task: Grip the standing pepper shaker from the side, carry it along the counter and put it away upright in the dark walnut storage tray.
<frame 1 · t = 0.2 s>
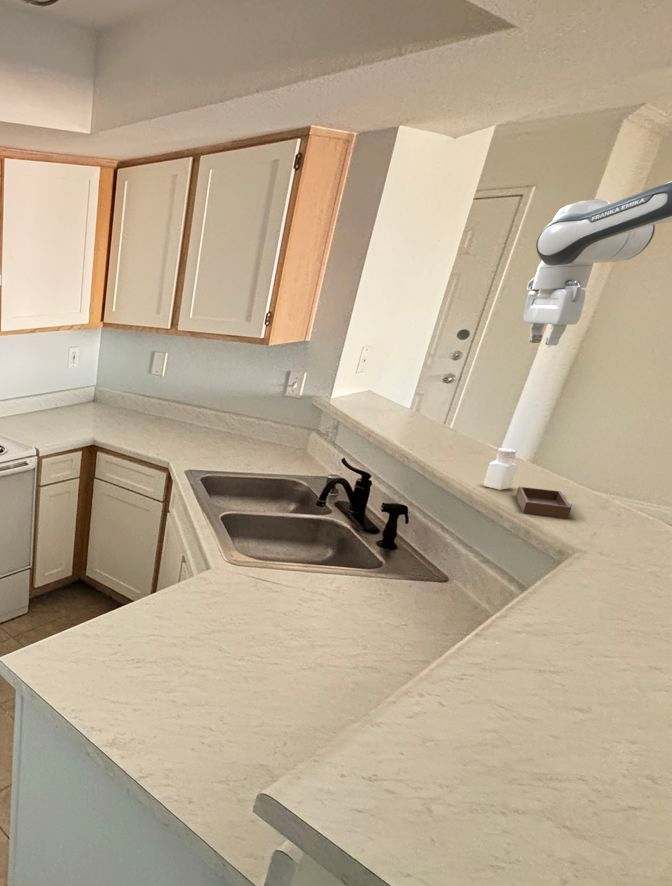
hand: (542, 344, 137), 34 cm above the counter, tool pointing down, fingers open, 8 cm apart
tray: (540, 507, 130), on the counter
pepper shaker: (496, 488, 144), on the counter
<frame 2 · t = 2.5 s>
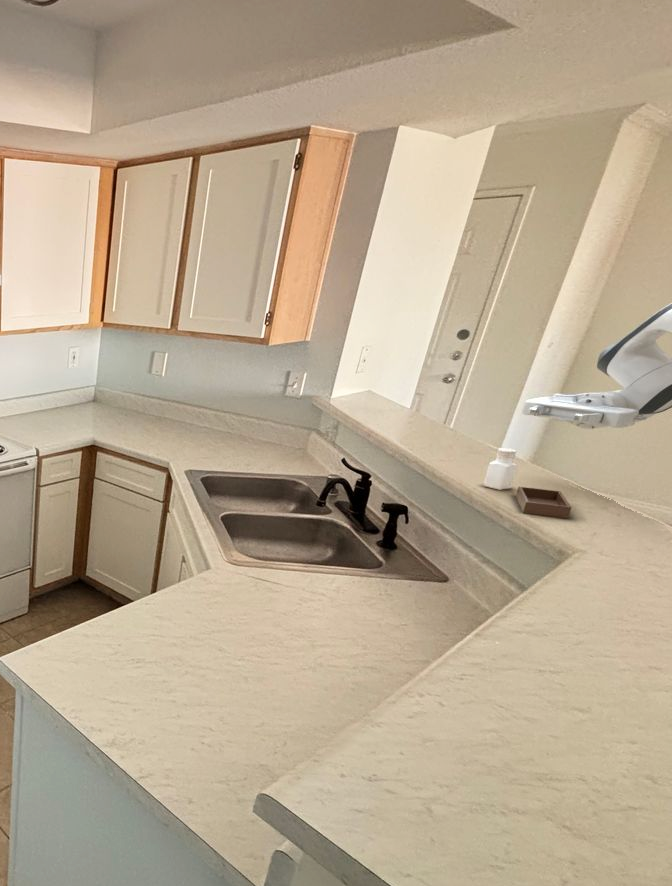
hand: (553, 415, 141), 17 cm above the counter, tool horizontal, fingers open, 8 cm apart
nothing on the counter moved.
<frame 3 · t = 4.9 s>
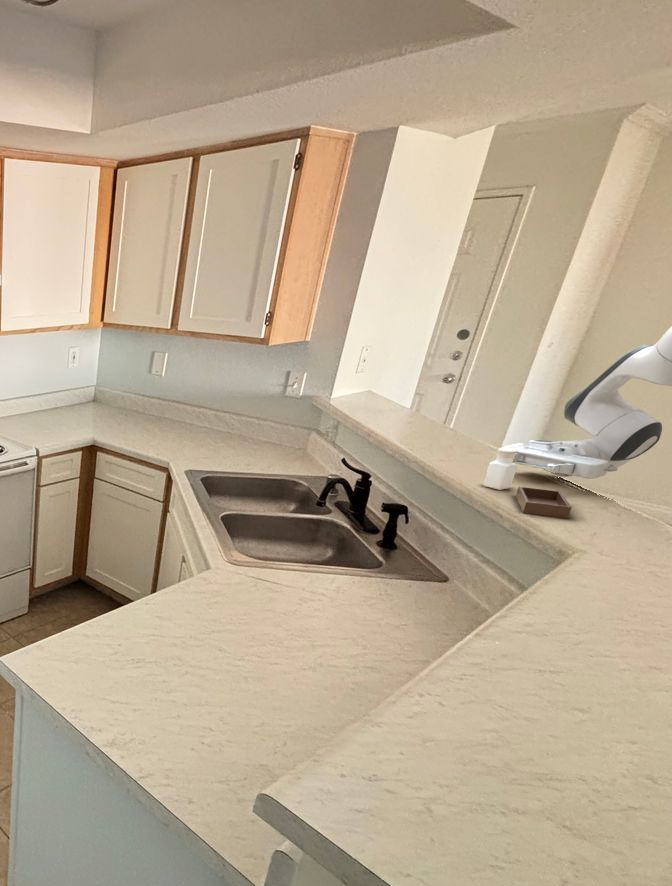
hand: (527, 463, 143), 5 cm above the counter, tool horizontal, fingers open, 8 cm apart
nothing on the counter moved.
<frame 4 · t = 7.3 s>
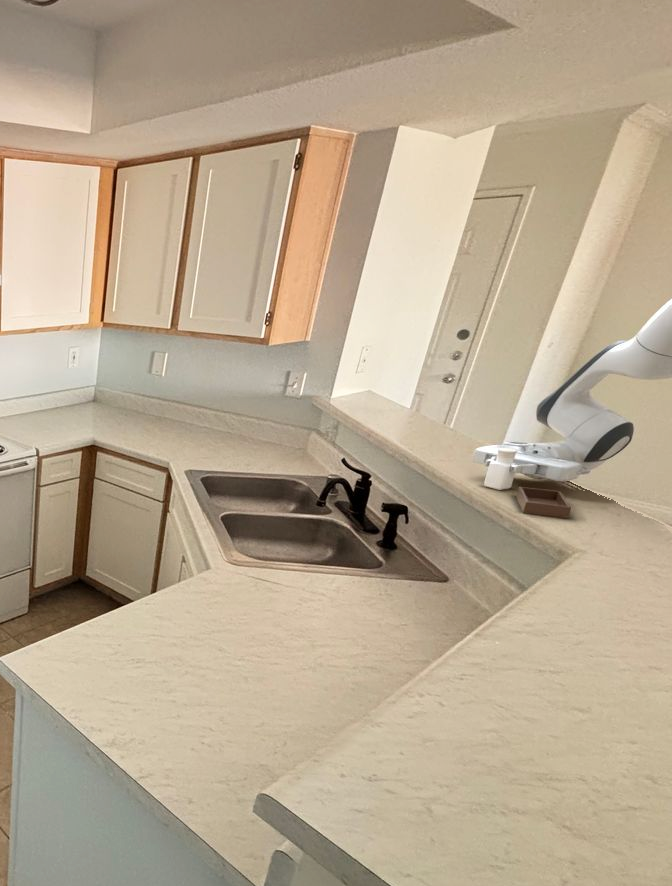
hand: (500, 466, 142), 6 cm above the counter, tool horizontal, fingers closed on pepper shaker, 4 cm apart
pepper shaker: (496, 488, 144), on the counter, touching gripper
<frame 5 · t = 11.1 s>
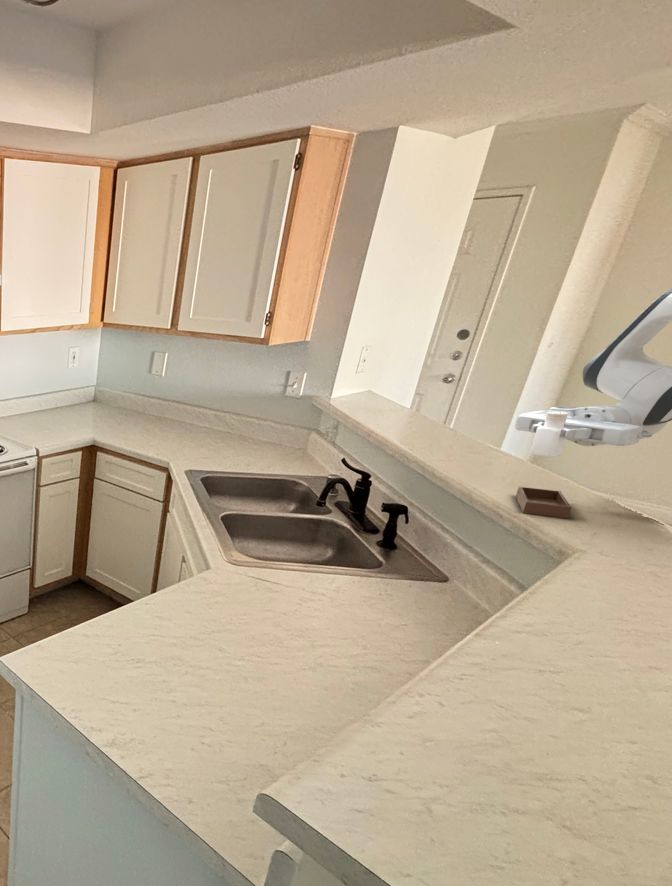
hand: (548, 431, 128), 16 cm above the counter, tool horizontal, fingers closed on pepper shaker, 4 cm apart
pepper shaker: (544, 456, 130), point 11 cm above the counter, touching gripper
when the fingers open (6 cm above the counter, at t = 15.0 s): pepper shaker stays where it is, resting on tray.
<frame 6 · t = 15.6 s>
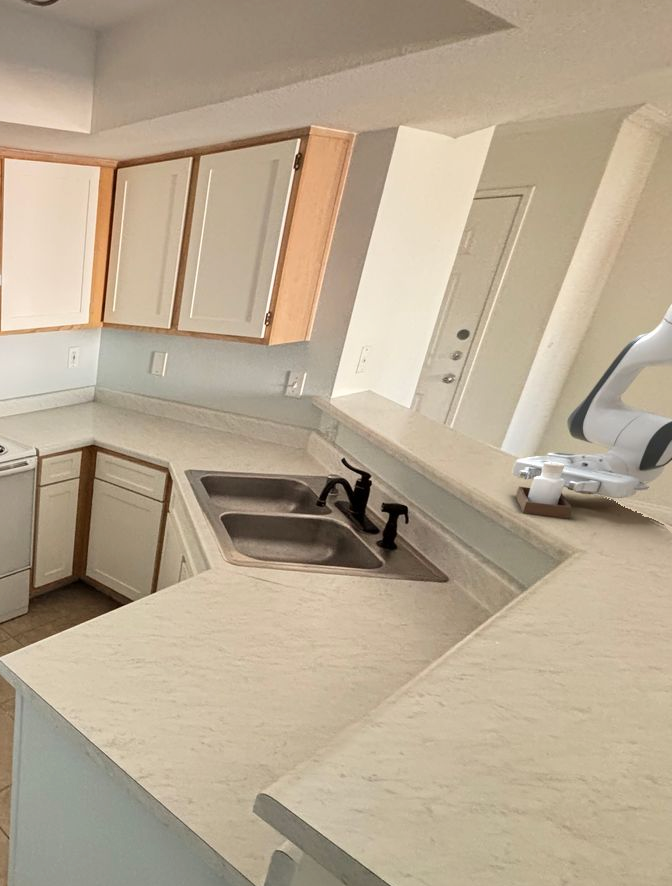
hand: (546, 480, 128), 6 cm above the counter, tool horizontal, fingers open, 8 cm apart
pepper shaker: (540, 505, 130), resting on tray
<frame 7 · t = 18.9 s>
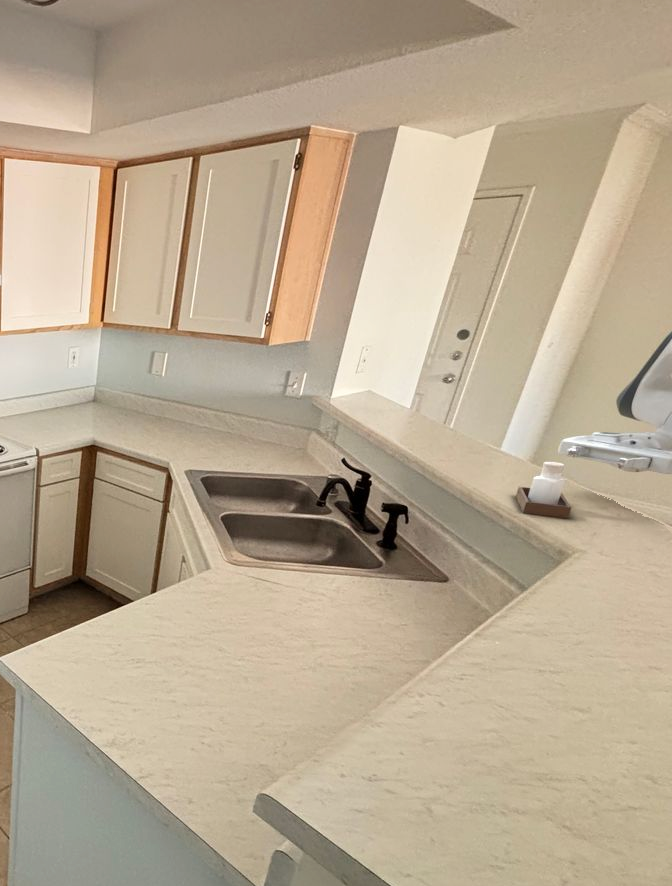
hand: (595, 458, 129), 10 cm above the counter, tool horizontal, fingers open, 8 cm apart
nothing on the counter moved.
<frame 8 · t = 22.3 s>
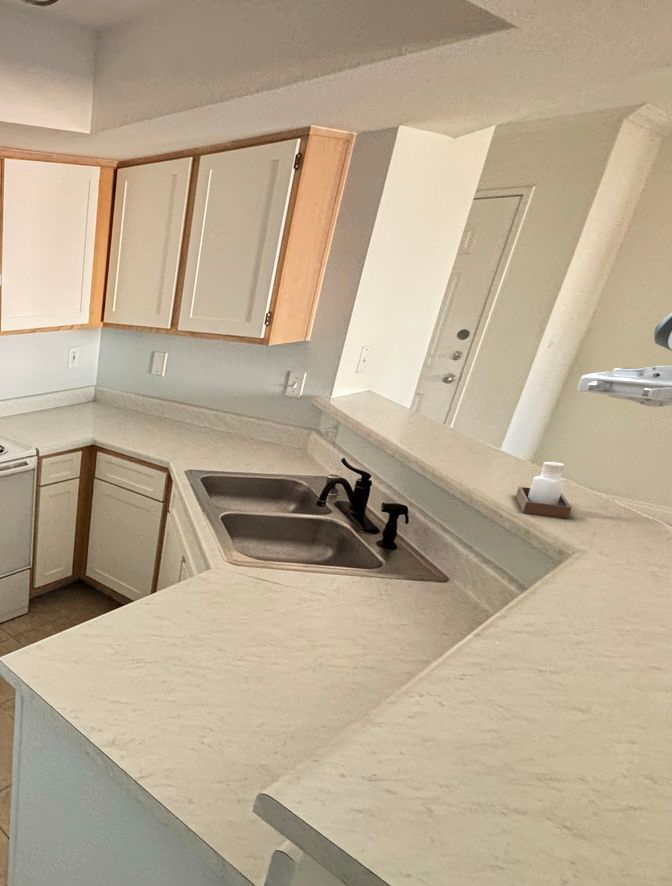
hand: (617, 390, 125), 25 cm above the counter, tool horizontal, fingers open, 8 cm apart
nothing on the counter moved.
at the end: pepper shaker inside the target area in the tray (0.0 cm from its centre), point 0.3 cm above the tray's base; pepper shaker tilted 0°; the gripper is holding nothing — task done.
